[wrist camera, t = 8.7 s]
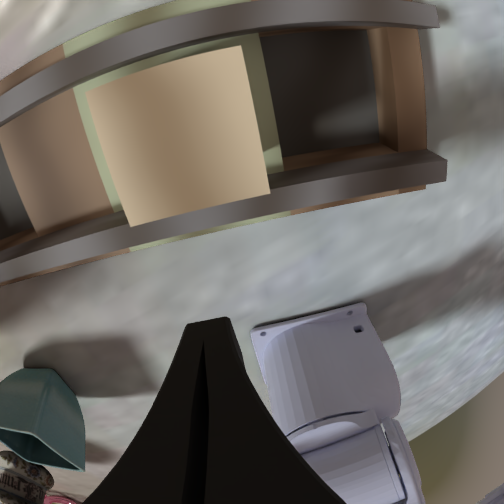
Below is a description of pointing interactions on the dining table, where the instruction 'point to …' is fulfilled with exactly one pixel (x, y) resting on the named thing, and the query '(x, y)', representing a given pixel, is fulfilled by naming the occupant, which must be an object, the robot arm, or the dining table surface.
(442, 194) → the dining table surface
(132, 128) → the maple block
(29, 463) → the apothecary jar
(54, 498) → the pink slatted sphere
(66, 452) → the flower pot
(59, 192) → the trap box
